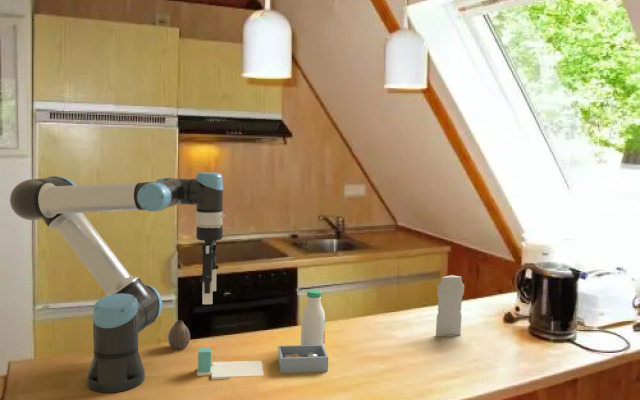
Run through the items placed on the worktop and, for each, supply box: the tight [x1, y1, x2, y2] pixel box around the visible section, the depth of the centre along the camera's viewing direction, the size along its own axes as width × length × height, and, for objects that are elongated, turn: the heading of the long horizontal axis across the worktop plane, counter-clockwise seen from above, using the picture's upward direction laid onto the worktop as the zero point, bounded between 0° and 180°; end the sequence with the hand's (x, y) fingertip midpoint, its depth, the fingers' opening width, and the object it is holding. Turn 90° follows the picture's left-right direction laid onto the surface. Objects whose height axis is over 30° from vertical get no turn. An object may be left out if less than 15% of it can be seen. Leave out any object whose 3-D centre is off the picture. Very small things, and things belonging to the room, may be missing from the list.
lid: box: [196, 347, 264, 381], centre depth 167 cm, size 19×11×7 cm, turn 99°
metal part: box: [307, 353, 318, 357], centre depth 173 cm, size 3×3×3 cm
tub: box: [277, 344, 329, 374], centre depth 171 cm, size 14×10×5 cm
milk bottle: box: [300, 289, 326, 347], centre depth 184 cm, size 8×8×20 cm
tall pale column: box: [435, 274, 465, 338], centre depth 203 cm, size 11×4×22 cm, turn 105°
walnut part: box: [284, 354, 300, 358], centre depth 171 cm, size 4×4×3 cm
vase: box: [167, 320, 191, 351], centre depth 184 cm, size 7×7×9 cm
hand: (209, 297), depth 167 cm, fingers open, 13 cm apart
